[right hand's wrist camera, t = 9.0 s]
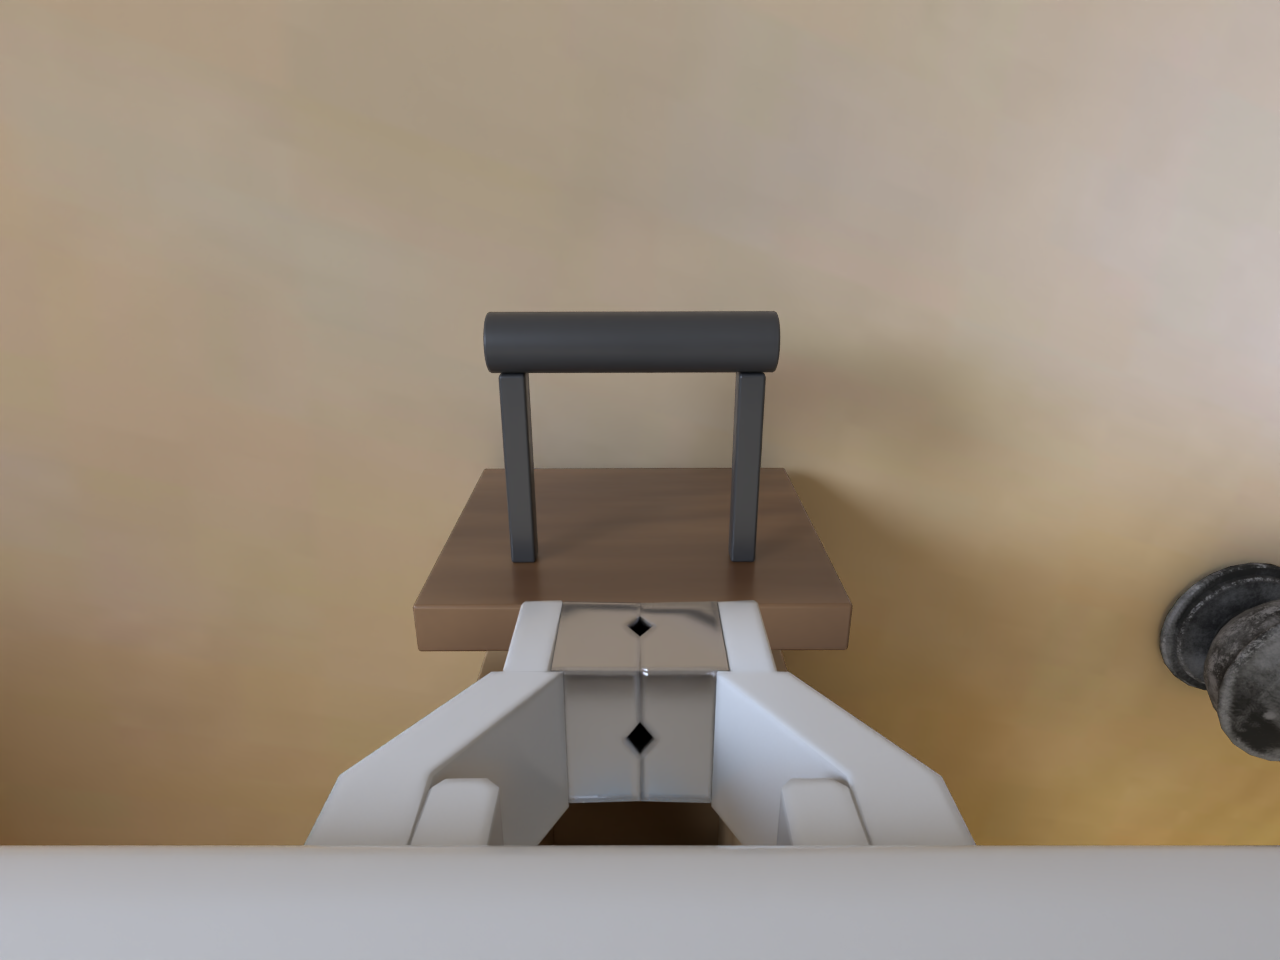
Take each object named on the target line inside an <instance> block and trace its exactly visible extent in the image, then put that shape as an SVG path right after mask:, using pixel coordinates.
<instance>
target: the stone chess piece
mask: <svg viewBox="0 0 1280 960" xmlns="http://www.w3.org/2000/svg"><path fill="white" fill-rule="evenodd" d="M1160 650H1161V653H1162V656H1163V660H1164V663H1165V664H1166V665H1167V667H1168V668H1169V669H1170V671H1171V672H1172V673H1173V675H1174V676H1175V677H1177V678H1178V679H1180V680H1181V681H1183V682H1184V683H1186V684H1187V685H1190V686H1193V687H1196V688H1199V689H1203V690H1207V691H1208V694H1209V697H1210V700H1211V702H1212V705H1213V707H1214V709H1215V710H1216V711H1217V714H1218V717H1219V721H1220V725H1221V728H1222V730H1223V731H1224V732H1225V734H1226V735H1227V736H1228V738H1229V739H1230V740H1231V742H1232V743H1233V744H1234V745H1236V746H1237V747H1239V748H1240V749H1242V750H1243V751H1245V752H1247V753H1248V754H1250V755H1252V756H1256V757H1259V758H1262V759H1266V760H1269V761H1280V567H1278V566H1275V565H1272V564H1262V563H1247V564H1242V565H1236V566H1230V567H1228V568H1225V569H1223V570H1220V571H1217V572H1215V573H1212V574H1210V575H1208V576H1207V577H1205V578H1204V579H1202V580H1201V581H1199V582H1197V583H1196V584H1194V585H1193V586H1192V587H1190V588H1189V589H1188V590H1187V591H1186V592H1185V593H1184V594H1183V595H1182V596H1181V597H1180V598H1179V599H1178V600H1177V601H1176V603H1175V604H1174V606H1173V607H1172V609H1171V610H1170V612H1169V613H1168V615H1167V617H1166V619H1165V622H1164V625H1163V628H1162V631H1161V641H1160Z"/></svg>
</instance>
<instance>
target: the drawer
mask: <svg viewBox="0 0 1280 960" xmlns="http://www.w3.org/2000/svg"><path fill="white" fill-rule="evenodd" d="M483 338H484V354H485V361H486V365H487V368H488V370H489V372H491V373H501V374H500V375H499V390H500V405H501V419H502V433H503V448H504V462H505V469H484V471H483V473H482V475H481V477H480V479H479V481H478V482H477V484H476V486H475V488H474V490H473V492H472V494H471V496H470V498H469V500H468V502H467V504H466V506H465V507H464V509H463V511H462V513H461V515H460V517H459V519H458V521H457V523H456V525H455V527H454V529H453V531H452V532H451V534H450V536H449V538H448V540H447V542H446V544H445V546H444V548H443V550H442V552H441V554H440V556H439V557H438V559H437V561H436V563H435V565H434V567H433V569H432V571H431V573H430V575H429V577H428V579H427V581H426V582H425V584H424V586H423V588H422V590H421V592H420V594H419V596H418V598H417V600H416V602H415V604H414V606H413V611H414V619H415V628H416V636H417V644H418V649H419V651H486V654H485V658H484V661H483V664H482V667H481V670H480V673H479V677H478V680H480V679H481V678H483V677H484V676H486V675H487V674H489V673H490V672H501V671H503V668H504V665H505V661H506V658H507V654H508V651H509V647H510V643H511V640H512V636H513V633H514V629H515V626H516V622H517V618H518V615H519V611H520V608H521V605H522V604H523V603H524V602H525V601H553V600H561V601H562V602H563V603H564V601H587V602H640V603H664V602H705V601H717V602H722V601H745V600H754V601H756V602H757V603H758V605H759V609H760V612H761V616H762V619H763V623H764V626H765V630H766V633H767V637H768V640H769V644H770V647H771V651H772V654H773V658H774V662H775V665H776V669H777V671H779V672H787V669H786V665H785V662H784V659H783V655H782V652H781V650H846V649H847V648H848V642H849V633H850V624H851V615H852V603H851V601H850V599H849V597H848V595H847V593H846V591H845V589H844V587H843V585H842V583H841V581H840V579H839V577H838V575H837V573H836V571H835V569H834V567H833V565H832V563H831V561H830V559H829V557H828V555H827V553H826V551H825V549H824V547H823V545H822V543H821V541H820V539H819V537H818V535H817V533H816V531H815V529H814V527H813V525H812V523H811V521H810V519H809V517H808V515H807V513H806V511H805V509H804V507H803V505H802V503H801V501H800V499H799V497H798V495H797V493H796V491H795V489H794V487H793V485H792V483H791V481H790V479H789V477H788V475H787V473H786V471H785V469H784V468H761V450H762V433H763V416H764V399H765V381H766V376H765V374H764V373H763V372H774V371H775V370H776V368H777V364H778V360H779V352H780V324H779V318H778V315H777V313H776V312H774V311H702V312H489V313H487V315H486V318H485V322H484V336H483ZM666 372H736V389H735V411H734V434H733V457H732V468H614V469H534V464H533V446H532V428H531V410H530V391H529V373H666ZM478 680H477V681H478ZM599 845H600V846H601V845H602V846H603V845H604V846H606V845H742V844H741V843H740V841H739V840H738V839H737V838H736V836H735V835H734V834H733V833H732V831H731V830H730V829H729V828H728V826H727V825H726V824H725V823H724V821H723V820H722V819H721V818H720V816H719V815H718V814H717V813H716V811H715V810H714V809H713V808H712V806H711V803H690V802H654V801H624V802H589V803H569V807H568V809H567V810H566V811H565V812H564V813H563V815H562V816H561V817H560V818H559V820H558V821H557V822H556V823H555V825H554V826H553V827H552V828H551V830H550V831H549V832H548V833H547V835H546V836H545V837H544V838H543V839H542V841H541V842H540V843H539V844H538V846H599Z"/></svg>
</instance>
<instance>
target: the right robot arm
mask: <svg viewBox="0 0 1280 960" xmlns="http://www.w3.org/2000/svg"><path fill="white" fill-rule="evenodd" d="M624 801H654V802H690V803H711V806H712V808H713V809H714V810H715V811H716V813H717V814H718V815H719V816H720V818H721V819H722V820H723V821H724V823H725V824H726V825H727V826H728V828H729V829H730V830H731V831H732V833H733V834H734V835H735V836H736V838H737V839H738V840H739V841H740V843H741V844H742V845H606V846H604V845H603V846H602V845H601V846H600V845H599V846H538V844H539V843H540V842H541V841H542V839H543V838H544V837H545V836H546V835H547V833H548V832H549V831H550V830H551V828H552V827H553V826H554V825H555V823H556V822H557V821H558V820H559V818H560V817H561V816H562V815H563V813H564V812H565V811H566V810H567V809H568V807H569V803H589V802H624ZM0 960H1280V845H976V844H975V842H974V840H973V838H972V836H971V834H970V832H969V830H968V828H967V826H966V824H965V822H964V820H963V818H962V816H961V814H960V812H959V810H958V808H957V806H956V804H955V802H954V800H953V798H952V796H951V794H950V792H949V790H948V788H947V786H946V784H945V782H944V780H943V778H942V776H941V775H939V774H938V773H936V772H935V771H933V770H932V769H930V768H929V767H927V766H926V765H924V764H923V763H922V762H920V761H919V760H917V759H916V758H914V757H913V756H911V755H910V754H908V753H907V752H905V751H904V750H902V749H901V748H900V747H898V746H897V745H895V744H894V743H892V742H891V741H889V740H888V739H886V738H885V737H883V736H882V735H881V734H879V733H878V732H876V731H875V730H873V729H872V728H870V727H869V726H867V725H866V724H864V723H863V722H862V721H860V720H859V719H857V718H856V717H854V716H853V715H851V714H850V713H848V712H847V711H845V710H844V709H842V708H841V707H840V706H838V705H837V704H835V703H834V702H832V701H831V700H829V699H828V698H826V697H825V696H823V695H822V694H821V693H819V692H818V691H816V690H815V689H813V688H812V687H810V686H809V685H807V684H806V683H804V682H803V681H802V680H800V679H799V678H797V677H796V676H794V675H793V674H791V673H790V672H779V671H777V669H776V665H775V662H774V658H773V654H772V651H771V647H770V644H769V640H768V637H767V633H766V630H765V626H764V623H763V619H762V616H761V612H760V609H759V605H758V603H757V602H756V601H754V600H745V601H722V602H717V601H705V602H664V603H640V602H587V601H564V603H563V602H562V601H561V600H553V601H525V602H524V603H523V604H522V605H521V608H520V611H519V615H518V618H517V622H516V626H515V629H514V633H513V636H512V640H511V643H510V647H509V651H508V654H507V658H506V661H505V665H504V668H503V671H501V672H490V673H489V674H487V675H486V676H484V677H483V678H481V679H480V680H478V681H477V682H476V683H474V684H473V685H471V686H470V687H468V688H467V689H465V690H464V691H462V692H461V693H459V694H458V695H456V696H455V697H453V698H452V699H451V700H449V701H448V702H446V703H445V704H443V705H442V706H440V707H439V708H437V709H436V710H434V711H433V712H431V713H430V714H428V715H427V716H426V717H424V718H423V719H421V720H420V721H418V722H417V723H415V724H414V725H412V726H411V727H409V728H408V729H406V730H405V731H403V732H402V733H401V734H399V735H398V736H396V737H395V738H393V739H392V740H390V741H389V742H387V743H386V744H384V745H383V746H381V747H380V748H378V749H377V750H376V751H374V752H373V753H371V754H370V755H368V756H367V757H365V758H364V759H362V760H361V761H359V762H358V763H356V764H355V765H353V766H352V767H351V768H349V769H348V770H346V771H345V772H343V773H342V774H340V775H339V777H338V779H337V781H336V783H335V785H334V787H333V789H332V791H331V793H330V795H329V797H328V799H327V800H326V802H325V804H324V806H323V808H322V810H321V812H320V814H319V816H318V818H317V820H316V822H315V824H314V826H313V828H312V830H311V832H310V834H309V836H308V838H307V840H306V842H305V844H304V845H7V846H0Z"/></svg>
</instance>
